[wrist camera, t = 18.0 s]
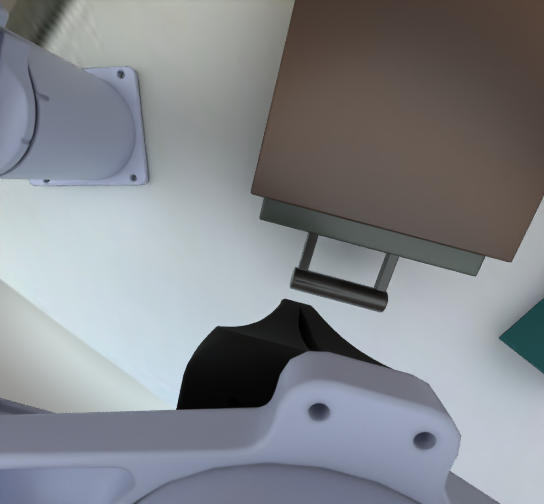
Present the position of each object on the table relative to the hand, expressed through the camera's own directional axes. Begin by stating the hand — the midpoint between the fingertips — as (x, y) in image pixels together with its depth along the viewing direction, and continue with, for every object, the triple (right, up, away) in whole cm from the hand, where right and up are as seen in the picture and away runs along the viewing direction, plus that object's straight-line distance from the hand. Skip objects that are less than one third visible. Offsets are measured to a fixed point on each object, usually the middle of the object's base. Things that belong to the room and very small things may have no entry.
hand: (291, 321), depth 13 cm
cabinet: (+7, +13, +7) cm, 16 cm away
